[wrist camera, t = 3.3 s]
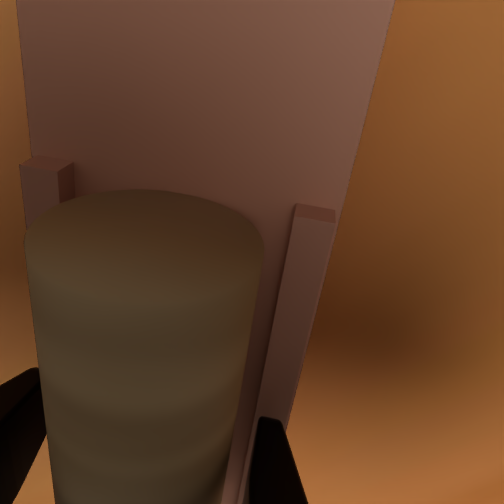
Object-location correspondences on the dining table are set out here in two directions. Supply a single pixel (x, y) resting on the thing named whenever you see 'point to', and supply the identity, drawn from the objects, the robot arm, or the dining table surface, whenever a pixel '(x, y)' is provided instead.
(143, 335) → the roller
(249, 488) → the robot arm
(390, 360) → the dining table surface
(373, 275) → the dining table surface
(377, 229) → the dining table surface
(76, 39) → the stop beam
